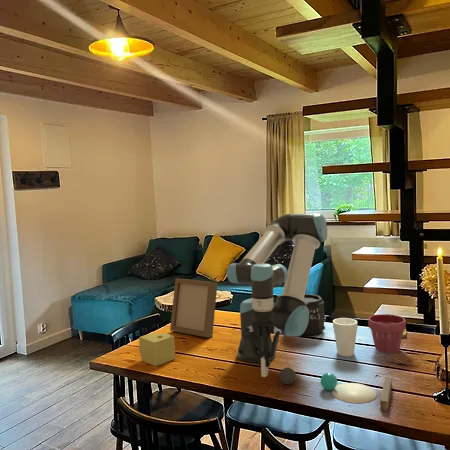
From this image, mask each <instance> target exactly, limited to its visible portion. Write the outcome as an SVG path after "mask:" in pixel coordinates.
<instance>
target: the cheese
mask: <svg viewBox="0 0 450 450" xmlns="http://www.w3.org/2000/svg"><path fill="white" fill-rule="evenodd" d="M138 340H139V341H138V343H139V344H138V346H139V353H140V357H141V361H142V362H144V363H146V364H149V365H151V364H152V365H151V366H154V367H158V365H159V366H161V365H163V364H166V363H169V362H171V360H172V361H174V359H175V360H176V348H175V347H176V345H175V336H174V335H173V334H169V333H167V332H163V333H150V334H144V335H142V336H139V338H138Z"/></svg>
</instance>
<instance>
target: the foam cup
mask: <svg viewBox="0 0 450 450" xmlns="http://www.w3.org/2000/svg"><path fill="white" fill-rule="evenodd" d="M332 328H333V333H334V338H335V344H336V352H337V355H339V356H341V357H352V356H354V355H355V354H354V353H355V347H356V339H357V331H358V320H356V319H354V318H350V317H349V318H348V317H339V318H334V319H333V320H332Z"/></svg>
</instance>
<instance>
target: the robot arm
mask: <svg viewBox="0 0 450 450" xmlns="http://www.w3.org/2000/svg"><path fill="white" fill-rule="evenodd" d="M327 225H328V224H327V221H326V218H325V216H324V215H323V214H322V213H315V212H313V213H287V214H283V215H281V216H279V217H277V218H276V219H274V220H272V221H271V222H270V223H268V225H267V226H266V227H265V228H264V232H263V234H262V236H261V237H260V238H259V239H258V241H256V243H255V244H254V245H253V246H252V247H251V249H250V250H249V251H248V252H247V253H246V255H245V256H244V257H243V258H242V260H240V262H239V263H237V262H235V263H230V264H229V265H228V267H227V269H226V277H227V279H228V281H229V282H230V283H233V284H238V285H251V287H250V288H251V298H248V299H247V298H246V299H245V300H243V301H241V303H240V306H239V314H240V315H239V317H240V318H239V319H240V333H241V334H240V341H239V344H238V348H237V358H238V359H239V360H241V361H243V362H247V363H252V364H253V363H258V366H259V367H260V373H261V374H260V376H261V378H266V377H267V376H268V375H269V367H270V366H271V361H272V360H274V358H275V357H276V353H277V349H278V344H279V339H280V336H287V337H297V336H300V335H301V334H303V333H304V331H305V330H306V328H307V325H308V322H309V310H308V308H307V307H306V303H305V301H304V295H305V294H306V290H307V286H308V281H309V277H310V273H311V269H312V264H313V260H314V255H315V252H316V251H315V250H317V249H319V248H320V246H321V243H322V242H326V240H327V239H328V226H327ZM285 241H292V243H293V244H294V245H293V250H292V254H291V259H290V262H289V265H288V269H287V267H286V266H285V265H282V264H280V263H277V264H275V263H274V264H272V265H271V264H270V263H266V261H267V260H268V259H269V258H270V256H271V255H272V254H273V253H274V251H275V250H276V249H277V247H278V246H279V245H281V244H283V243H284V242H285ZM283 284H284V285H283ZM282 285H283V289H282V292H281V294H280V295H278V296H277V297H276V301H275V300H274V288H276V287H279V286H282ZM274 301H275V302H274ZM271 334H273V339H272V338H271Z"/></svg>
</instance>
